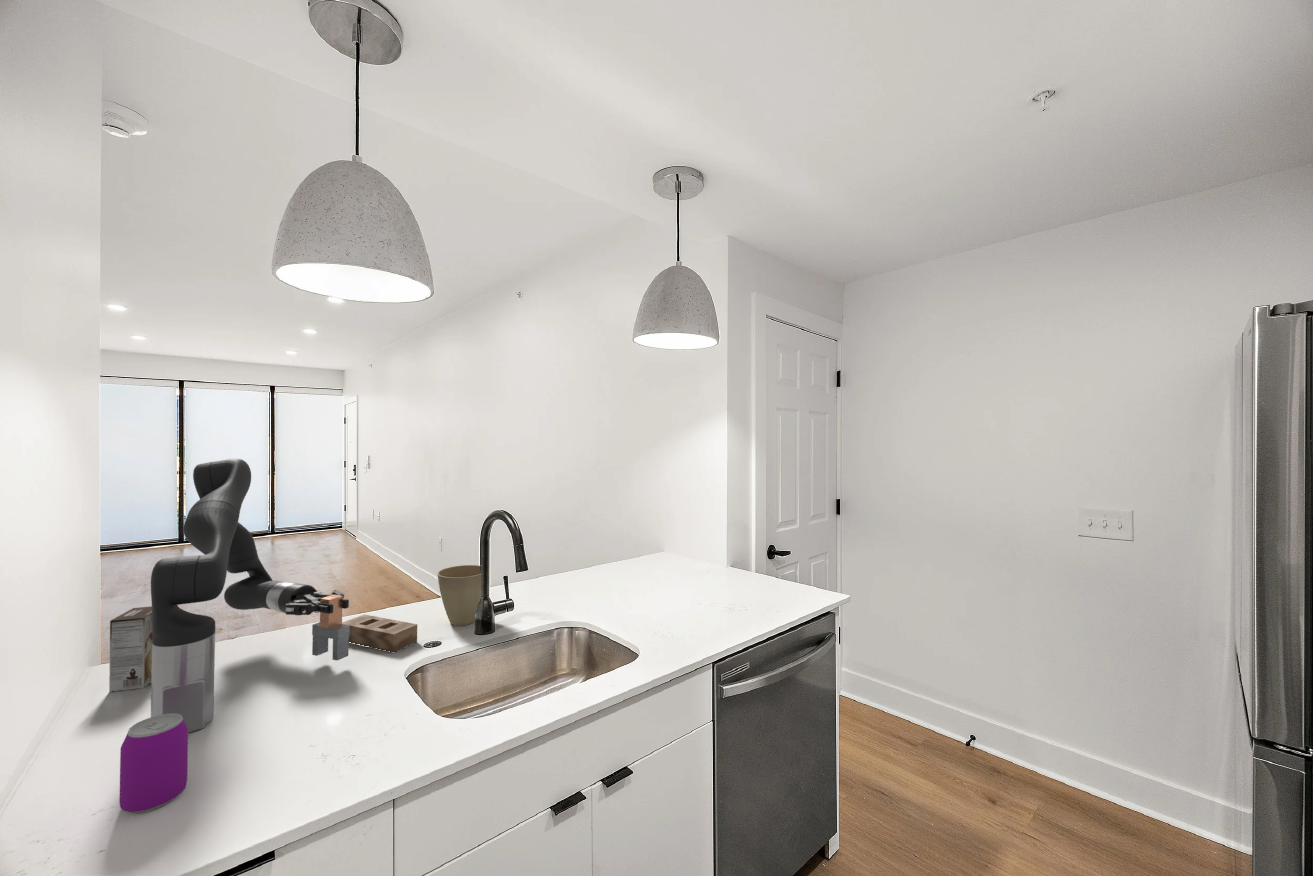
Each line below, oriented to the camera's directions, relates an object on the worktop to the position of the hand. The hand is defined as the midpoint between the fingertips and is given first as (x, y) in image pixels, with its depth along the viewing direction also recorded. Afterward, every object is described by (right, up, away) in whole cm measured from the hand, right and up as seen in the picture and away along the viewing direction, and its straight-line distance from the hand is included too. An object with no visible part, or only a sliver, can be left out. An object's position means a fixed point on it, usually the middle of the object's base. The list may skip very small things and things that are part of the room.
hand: (339, 606), depth 128 cm
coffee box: (-41, -15, -9) cm, 45 cm away
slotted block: (+1, -15, +16) cm, 22 cm away
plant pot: (+18, -16, +33) cm, 41 cm away
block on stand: (-3, -12, +1) cm, 13 cm away
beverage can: (-1, -16, -46) cm, 49 cm away
